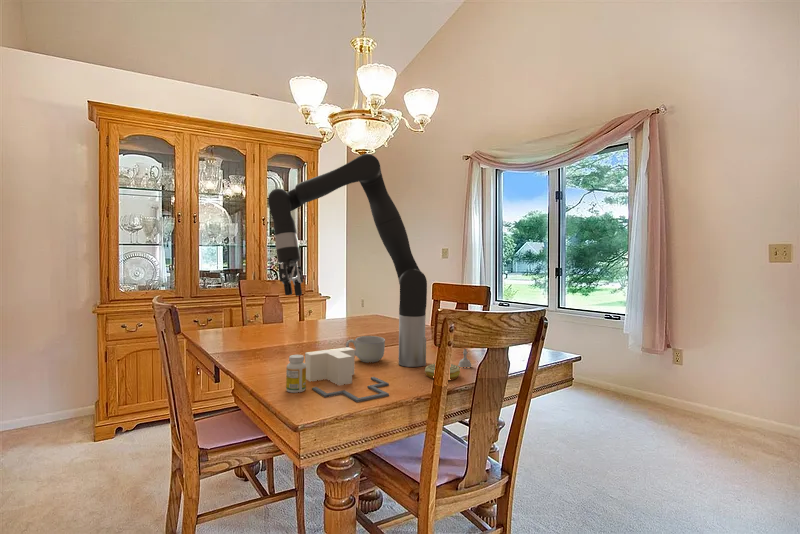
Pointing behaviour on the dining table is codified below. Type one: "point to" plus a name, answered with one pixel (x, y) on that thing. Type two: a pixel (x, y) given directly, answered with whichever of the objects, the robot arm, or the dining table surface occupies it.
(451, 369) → the decorated donut
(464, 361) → the grey tall turned piece
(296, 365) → the supplement bottle
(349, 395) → the t outline
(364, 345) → the teacup
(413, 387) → the dining table surface
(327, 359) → the t block
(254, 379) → the dining table surface
